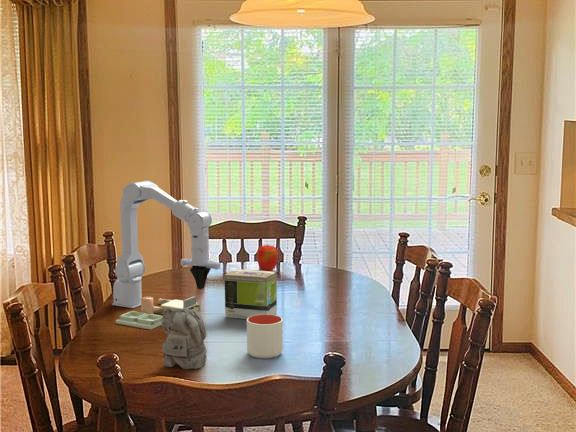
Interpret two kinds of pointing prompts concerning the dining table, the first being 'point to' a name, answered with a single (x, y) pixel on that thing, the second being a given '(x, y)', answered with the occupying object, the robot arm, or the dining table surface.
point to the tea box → (250, 293)
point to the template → (161, 310)
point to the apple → (267, 257)
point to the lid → (181, 303)
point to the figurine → (184, 338)
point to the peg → (147, 305)
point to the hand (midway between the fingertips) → (200, 288)
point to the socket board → (140, 320)
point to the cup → (264, 336)
